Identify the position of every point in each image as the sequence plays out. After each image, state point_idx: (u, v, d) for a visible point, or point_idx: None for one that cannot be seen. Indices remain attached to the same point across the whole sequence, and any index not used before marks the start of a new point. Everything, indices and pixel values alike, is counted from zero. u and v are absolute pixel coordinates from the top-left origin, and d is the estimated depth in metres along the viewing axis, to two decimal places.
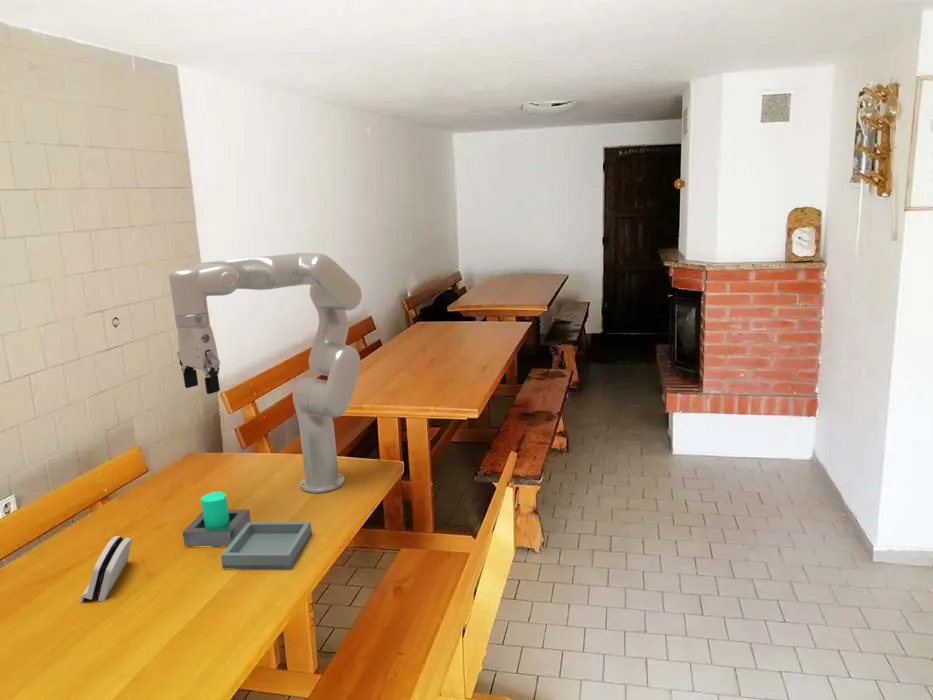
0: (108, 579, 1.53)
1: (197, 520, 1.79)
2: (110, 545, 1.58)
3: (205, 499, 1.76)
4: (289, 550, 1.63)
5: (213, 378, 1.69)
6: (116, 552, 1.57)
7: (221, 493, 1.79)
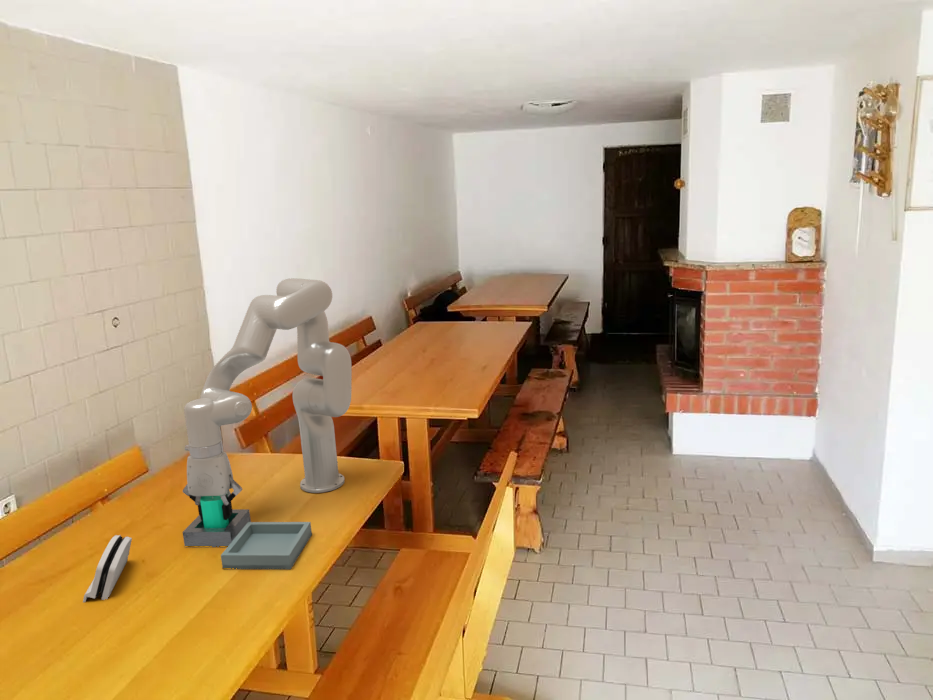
0: (111, 578, 1.53)
1: (197, 520, 1.79)
2: (112, 544, 1.59)
3: (204, 499, 1.76)
4: (289, 550, 1.63)
5: None
6: (118, 551, 1.57)
7: None
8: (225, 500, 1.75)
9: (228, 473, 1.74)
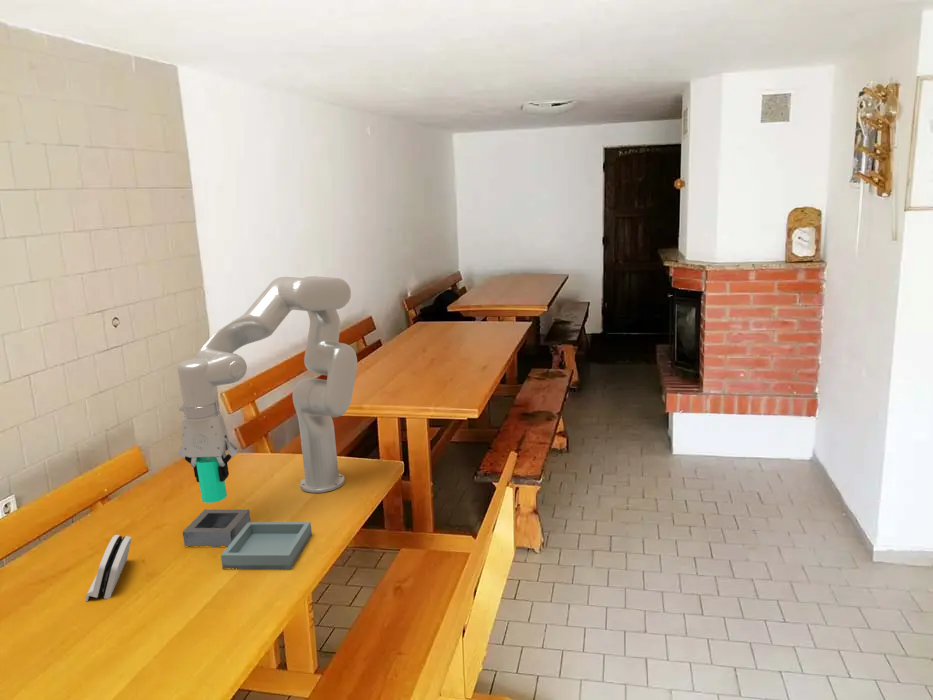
0: (114, 576, 1.53)
1: (197, 520, 1.79)
2: (112, 543, 1.59)
3: (200, 461, 1.74)
4: (289, 550, 1.63)
5: None
6: (119, 550, 1.58)
7: None
8: (221, 461, 1.73)
9: (223, 434, 1.72)
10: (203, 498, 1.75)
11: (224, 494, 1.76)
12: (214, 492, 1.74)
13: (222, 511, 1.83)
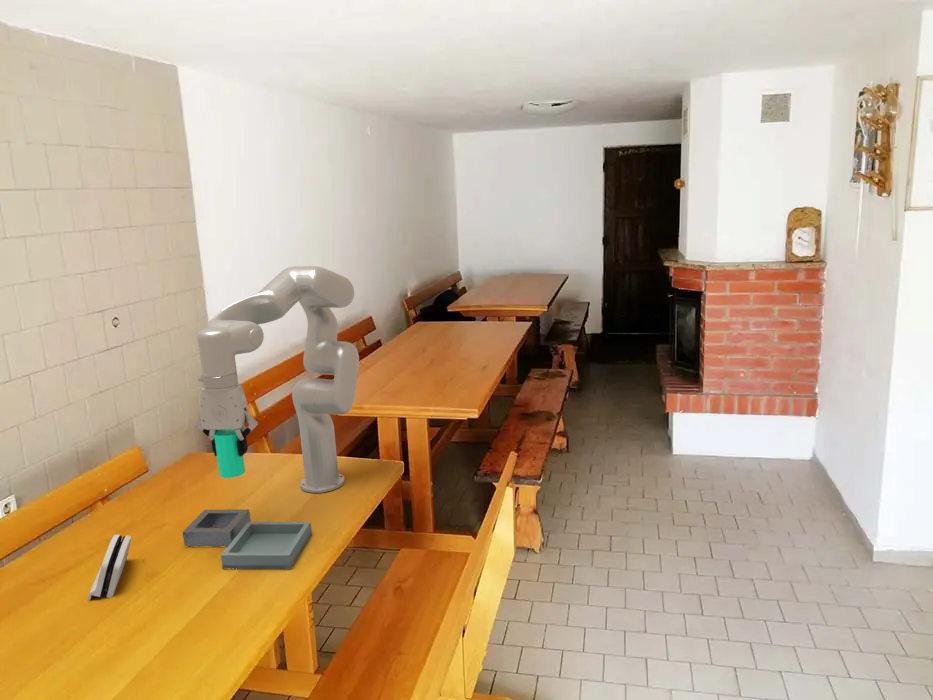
0: (116, 575, 1.54)
1: (197, 520, 1.79)
2: (114, 543, 1.59)
3: (218, 434, 1.68)
4: (289, 550, 1.63)
5: None
6: (121, 549, 1.58)
7: None
8: (240, 435, 1.66)
9: (243, 406, 1.65)
10: (220, 473, 1.68)
11: (242, 470, 1.69)
12: (232, 467, 1.67)
13: (222, 511, 1.83)
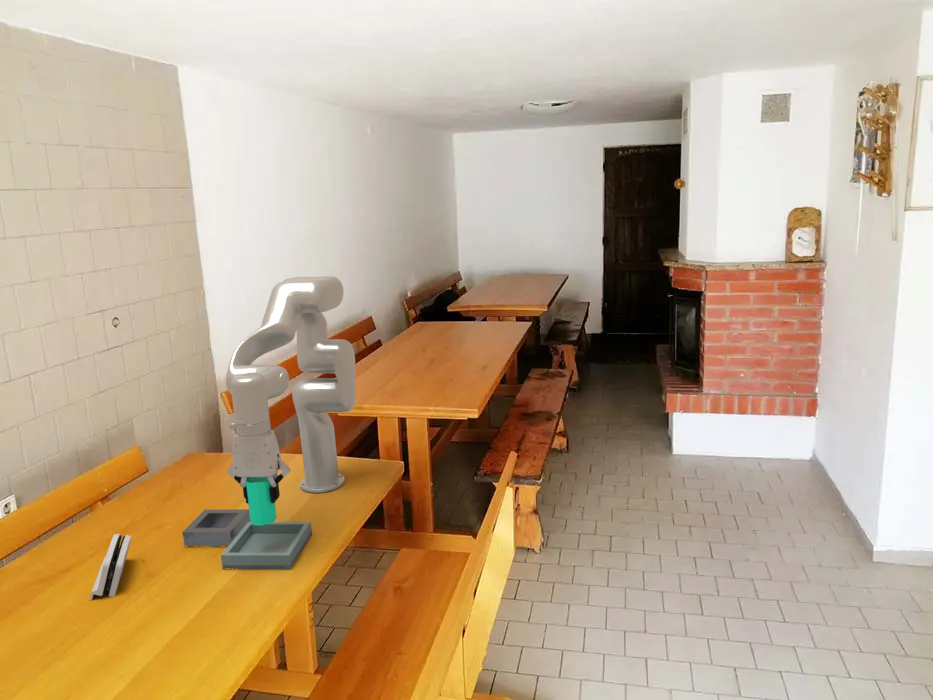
0: (118, 574, 1.54)
1: (197, 520, 1.79)
2: (114, 542, 1.60)
3: (250, 481, 1.65)
4: (289, 550, 1.63)
5: None
6: (122, 548, 1.58)
7: None
8: (273, 482, 1.64)
9: (276, 453, 1.63)
10: (252, 520, 1.65)
11: (274, 516, 1.67)
12: (264, 514, 1.65)
13: (222, 511, 1.83)
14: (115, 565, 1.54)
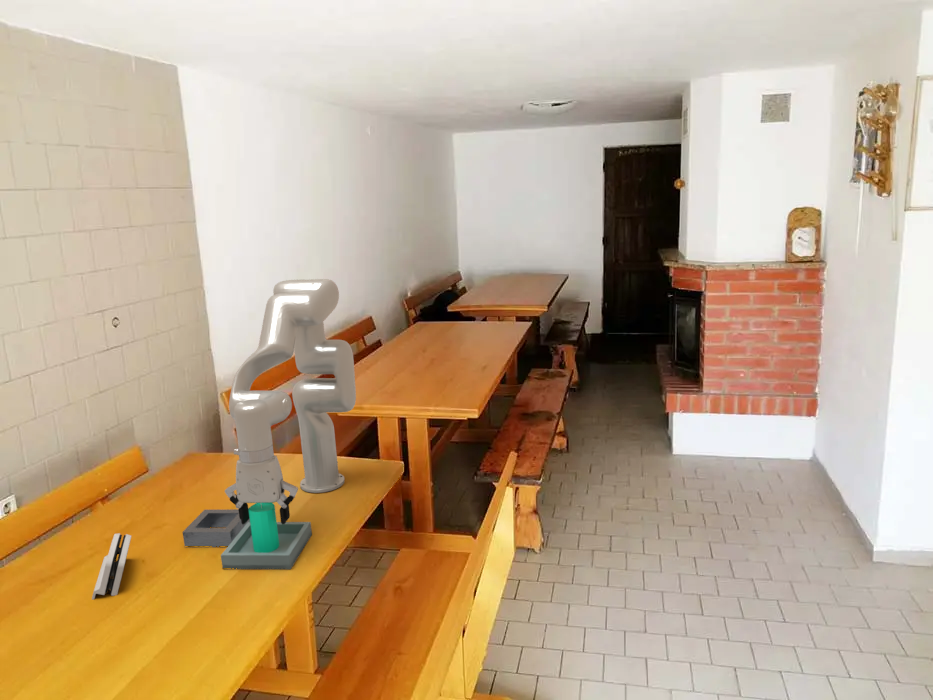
0: (121, 573, 1.55)
1: (197, 520, 1.79)
2: (116, 541, 1.60)
3: (253, 509, 1.67)
4: (289, 550, 1.63)
5: None
6: (124, 547, 1.59)
7: (269, 503, 1.70)
8: (282, 503, 1.65)
9: (279, 478, 1.64)
10: (255, 548, 1.67)
11: (277, 544, 1.69)
12: (267, 542, 1.67)
13: (222, 511, 1.83)
14: (117, 564, 1.54)
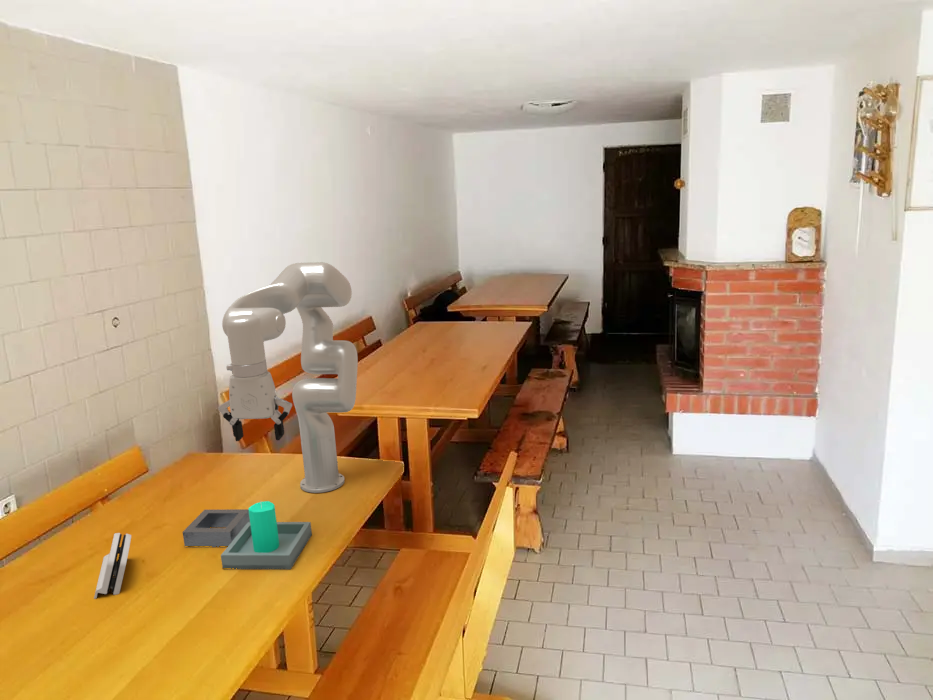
0: (123, 572, 1.55)
1: (197, 520, 1.79)
2: (116, 540, 1.60)
3: (253, 509, 1.67)
4: (289, 550, 1.63)
5: None
6: (125, 546, 1.59)
7: (269, 503, 1.70)
8: (276, 419, 1.64)
9: (273, 394, 1.63)
10: (255, 548, 1.67)
11: (277, 544, 1.69)
12: (267, 542, 1.67)
13: (222, 511, 1.83)
14: (119, 563, 1.55)
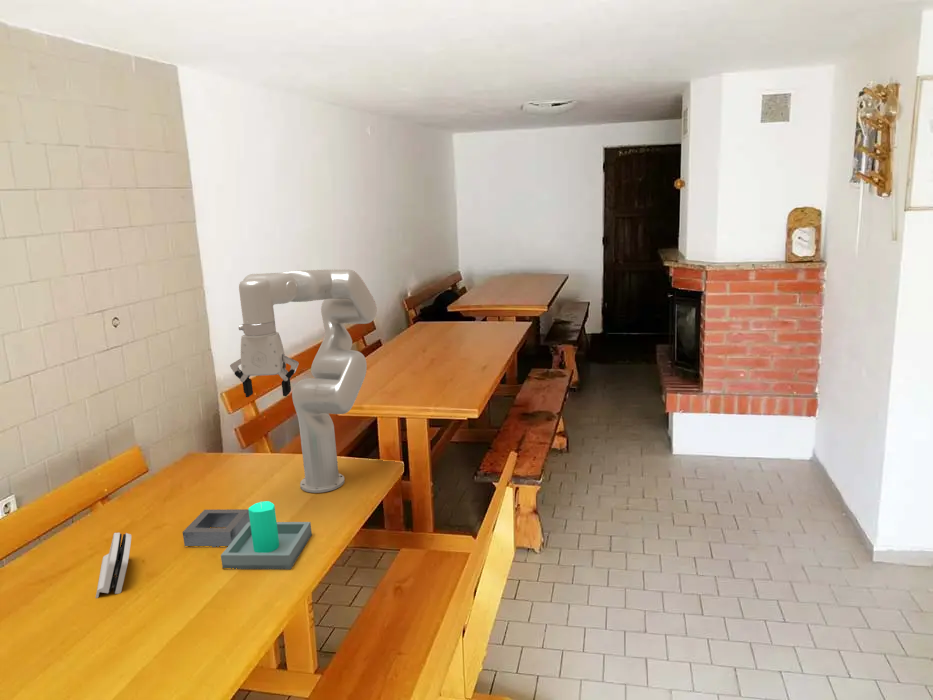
0: (124, 571, 1.55)
1: (197, 520, 1.79)
2: (117, 540, 1.61)
3: (253, 509, 1.67)
4: (289, 550, 1.63)
5: None
6: (126, 545, 1.60)
7: (269, 503, 1.70)
8: (284, 376, 1.77)
9: (281, 353, 1.76)
10: (255, 548, 1.67)
11: (277, 544, 1.69)
12: (267, 542, 1.67)
13: (222, 511, 1.83)
14: (121, 562, 1.55)
